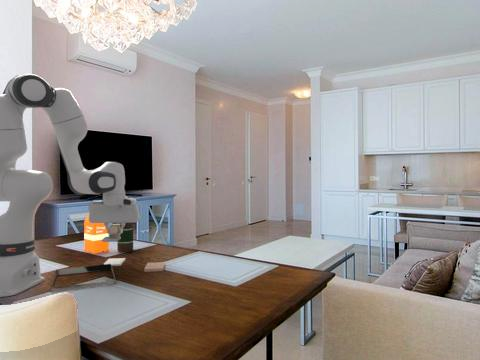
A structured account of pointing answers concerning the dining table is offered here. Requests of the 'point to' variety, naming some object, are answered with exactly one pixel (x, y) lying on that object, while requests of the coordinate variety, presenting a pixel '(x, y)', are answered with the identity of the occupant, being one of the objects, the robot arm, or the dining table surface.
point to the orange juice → (95, 237)
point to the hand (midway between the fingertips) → (114, 233)
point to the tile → (154, 267)
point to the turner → (113, 234)
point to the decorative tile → (83, 270)
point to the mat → (115, 261)
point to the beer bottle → (126, 238)
